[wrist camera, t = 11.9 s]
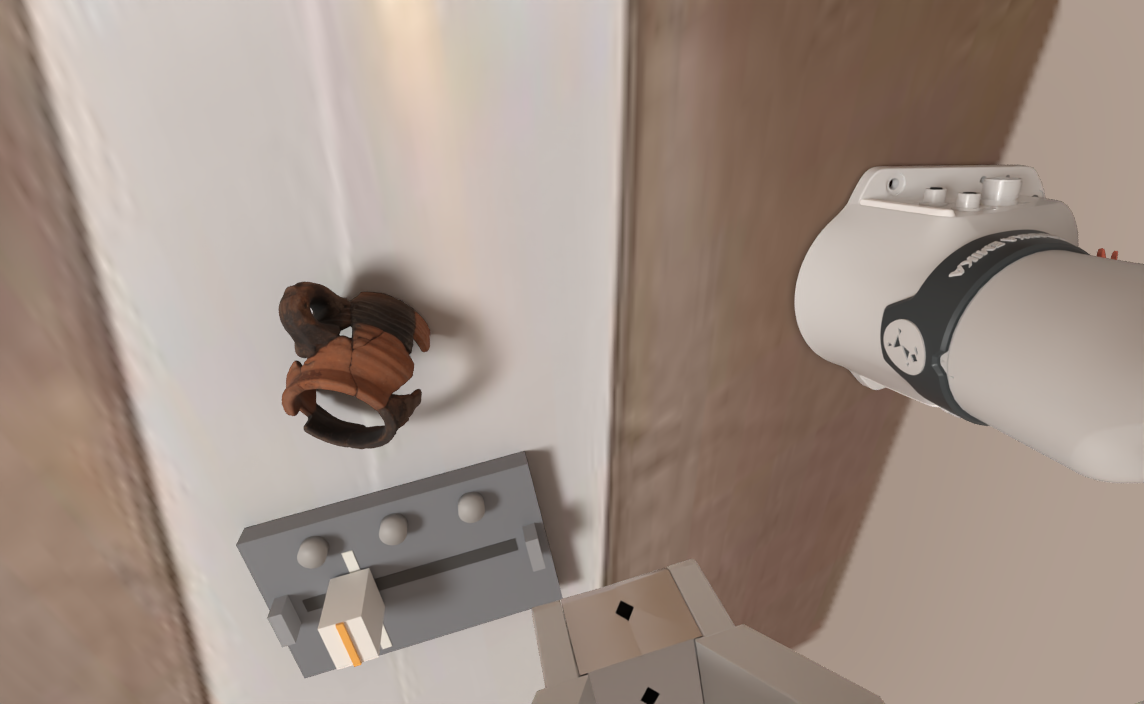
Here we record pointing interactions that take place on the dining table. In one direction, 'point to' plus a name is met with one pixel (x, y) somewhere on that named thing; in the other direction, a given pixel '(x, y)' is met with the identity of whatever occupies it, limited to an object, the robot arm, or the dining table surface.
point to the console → (409, 557)
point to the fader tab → (352, 619)
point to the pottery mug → (351, 359)
